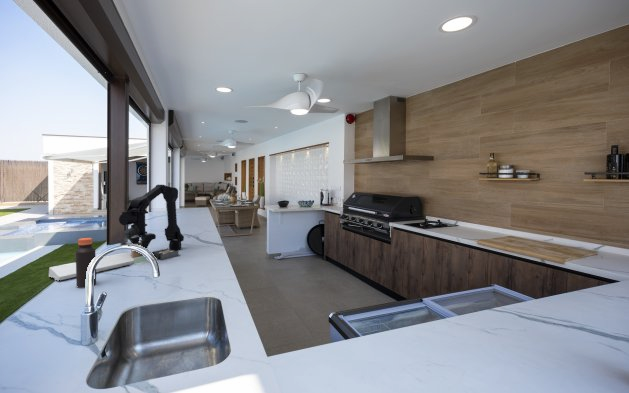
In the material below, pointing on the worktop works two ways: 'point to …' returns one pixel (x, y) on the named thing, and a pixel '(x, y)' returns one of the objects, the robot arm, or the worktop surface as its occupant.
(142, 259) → the sage stand
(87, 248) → the bottle
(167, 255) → the offcut rack
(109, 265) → the decorative molding
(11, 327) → the worktop surface
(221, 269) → the worktop surface
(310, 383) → the worktop surface
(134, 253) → the walnut sheet
